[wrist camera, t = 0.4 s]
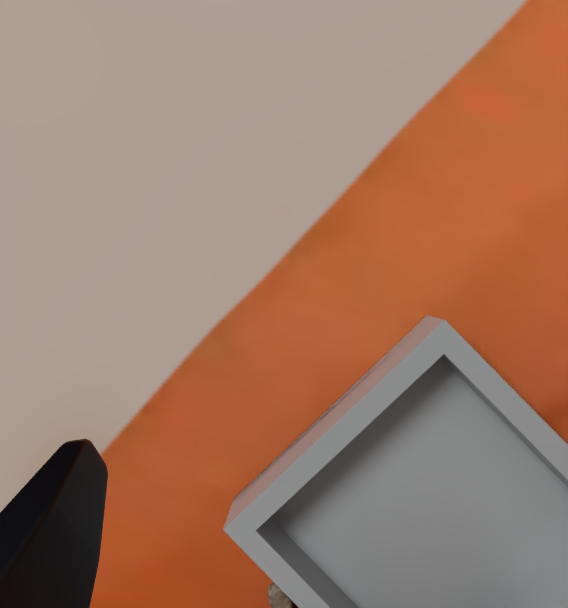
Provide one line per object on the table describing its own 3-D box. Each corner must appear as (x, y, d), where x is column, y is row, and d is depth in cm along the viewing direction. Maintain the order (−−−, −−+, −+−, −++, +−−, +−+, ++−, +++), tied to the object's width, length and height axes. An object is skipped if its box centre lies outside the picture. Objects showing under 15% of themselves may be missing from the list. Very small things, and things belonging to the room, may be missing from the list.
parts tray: (620, 511, 23) (666, 546, 20) (418, 688, 24) (434, 747, 21) (427, 314, 23) (444, 319, 20) (233, 498, 24) (222, 529, 21)
